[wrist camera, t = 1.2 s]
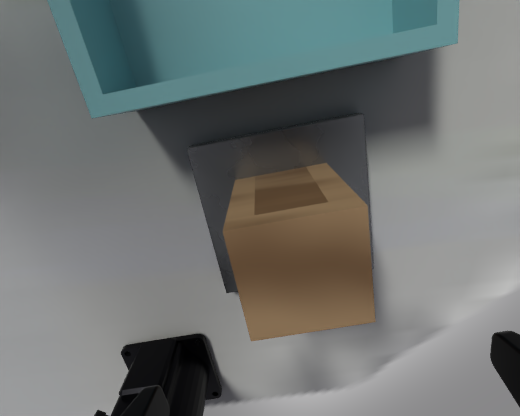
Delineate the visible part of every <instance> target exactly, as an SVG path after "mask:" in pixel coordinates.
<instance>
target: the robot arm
mask: <svg viewBox="0 0 520 416" xmlns="http://www.w3.org/2000/svg"><path fill="white" fill-rule="evenodd" d="M196 340H199V341H196ZM128 351H129V352H128ZM121 355H122V357H123V359H124V361H125V363H126V366H127V368H128V370H129V372H128V374H127V376H126V378H125V380H124V383H123V385H122V387H121V389H120V391H119V395H120V396H119V398H118V400H117V403H116V405H115V407H114V409H113V412H112V414H111V416H203V411H204V405H205V400H207V399H214V398H219V397H220V396H221V393H222V388H221V385H220V382H219V379H218V376H217V373H216V370H215V367H214V364H213V361H212V358H211V355H210V351H209V348H208V345H207V342H206V339H205V337H204V336H203V335H202V334H192V335H186V336H180V337H173V338H167V339H161V340H154V341H148V342H142V343H136V344H129V345H125V346H124V347H123V349H122V351H121ZM490 358H491V361H492V364H493V366H494V368H495V369H496V371H497V372H498V374H499V375H500V377H501V379H502V380H503V382H504V383H505V385H506V386H507V388H508V390H509V391H510V393H511V394H512V396H513V398H514V399H515V401H516V402H517V404H518V405H519V407H520V335H519V334H517V333H515V332H512V331H503V332H497V333H494V334H493V336H492V344H491V353H490ZM94 416H108V415H106V413H105V412H102V411H100V410H97V412H96V413H95V415H94Z"/></svg>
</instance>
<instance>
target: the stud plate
mask: <svg viewBox="0 0 520 416" xmlns="http://www.w3.org/2000/svg"><path fill="white" fill-rule="evenodd" d="M187 152H188V156H189V159H190V163H191V167H192V170H193V174H194V177H195V181H196V185H197V188H198V192H199V195H200V199H201V203H202V206H203V210H204V213H205V217H206V221H207V224H208V228H209V232H210V235H211V239H212V242H213V246H214V250H215V253H216V257H217V260H218V264H219V268H220V271H221V275H222V278H223V282H224V286H225V289H226V293H230V292H236V291H238V289H237V285H236V281H235V277H234V274H233V270H232V266H231V262H230V258H229V254H228V251H227V247H226V243H225V239H224V235H223V227H224V223H225V219H226V215H227V211H228V207H229V203H230V199H231V195H232V191H233V186H234V182H235V180H238V179H243V178H248V177H254V176H259V175H264V174H270V173H275V172H280V171H286V170H291V169H296V168H302V167H307V166H312V165H318V164H323V163H327V164H328V165H329V166H330V167H331V168H332V169H333V170H334V171H335V172H336V173H337V174H338V175H339V176H340V177H341V178H342V180H343V181H344V182H345V183H346V184H347V185H348V186H349V187H350V188H351V189H352V190H353V191H354V192H355V193H356V194H357V195H358V196H359V197H360V198H361V199H362V200H363V201H364V202H365V203H366V204H367V205H368V218H369V233H370V248H371V263H372V269H374V268H373V252H372V237H371V221H370V205H369V190H368V174H367V158H366V143H365V127H364V114H360V113H355V114H350V115H345V116H340V117H335V118H330V119H325V120H320V121H315V122H310V123H304V124H299V125H294V126H289V127H284V128H279V129H274V130H269V131H264V132H259V133H253V134H248V135H243V136H238V137H233V138H228V139H223V140H218V141H213V142H208V143H202V144H197V145H192V146H189V147H188V148H187Z"/></svg>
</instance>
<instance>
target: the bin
mask: <svg viewBox="0 0 520 416" xmlns="http://www.w3.org/2000/svg"><path fill="white" fill-rule="evenodd" d="M47 1H48V4H49V6H50V9H51V12H52V14H53V17H54V20H55V22H56V25H57V27H58V30H59V33H60V35H61V38H62V41H63V43H64V46H65V49H66V51H67V54H68V57H69V59H70V62H71V65H72V67H73V70H74V73H75V75H76V78H77V81H78V83H79V86H80V89H81V91H82V94H83V97H84V99H85V102H86V104H87V107H88V110H89V112H90V115H91V118H97V117H103V116H109V115H115V114H121V113H127V112H133V111H139V110H144V109H148V108H153V107H158V106H163V105H168V104H173V103H178V102H182V101H187V100H192V99H197V98H202V97H207V96H212V95H217V94H221V93H226V92H231V91H236V90H241V89H246V88H251V87H256V86H260V85H265V84H270V83H275V82H280V81H285V80H290V79H295V78H299V77H304V76H309V75H314V74H319V73H324V72H329V71H333V70H338V69H343V68H348V67H353V66H358V65H363V64H368V63H372V62H377V61H382V60H387V59H392V58H397V57H402V56H406V55H410V54H414V53H418V52H423V51H427V50H431V49H435V48H439V47H444V46H448V45H452V44H456V43H458V19H459V0H47Z"/></svg>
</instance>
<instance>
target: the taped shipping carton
mask: <svg viewBox="0 0 520 416" xmlns="http://www.w3.org/2000/svg"><path fill="white" fill-rule="evenodd" d="M223 235H224V239H225V243H226V247H227V251H228V254H229V258H230V262H231V266H232V270H233V274H234V277H235V281H236V285H237V289H238V293H239V297H240V301H241V304H242V308H243V312H244V316H245V320H246V324H247V327H248V331H249V335H250V339H251V341H256V340H263V339H269V338H275V337H282V336H288V335H295V334H301V333H308V332H314V331H321V330H327V329H333V328H340V327H346V326H353V325H359V324H366V323H372V322H375V309H374V293H373V278H372V263H371V248H370V233H369V218H368V205H367V204H366V203H365V202H364V201H363V200H362V199H361V198H360V197H359V196H358V195H357V194H356V193H355V192H354V191H353V190H352V189H351V188H350V187H349V186H348V185H347V184H346V183H345V182H344V181H343V180H342V178H341V177H340V176H339V175H338V174H337V173H336V172H335V171H334V170H333V169H332V168H331V167H330V166H329V165H328V164H327V163H323V164H318V165H312V166H307V167H302V168H296V169H291V170H286V171H280V172H275V173H270V174H264V175H259V176H254V177H248V178H243V179H238V180H235V182H234V186H233V191H232V195H231V199H230V203H229V207H228V211H227V215H226V219H225V223H224V227H223Z"/></svg>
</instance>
